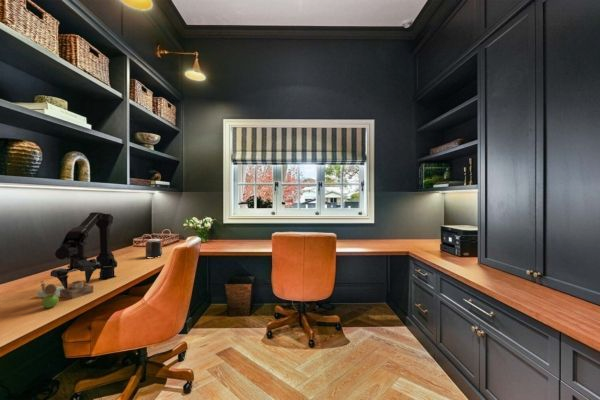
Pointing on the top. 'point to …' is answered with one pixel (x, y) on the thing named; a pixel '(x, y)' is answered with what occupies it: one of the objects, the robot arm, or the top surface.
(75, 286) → the peg
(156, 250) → the jar
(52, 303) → the snail figurine
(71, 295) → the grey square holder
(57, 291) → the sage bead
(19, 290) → the top surface
